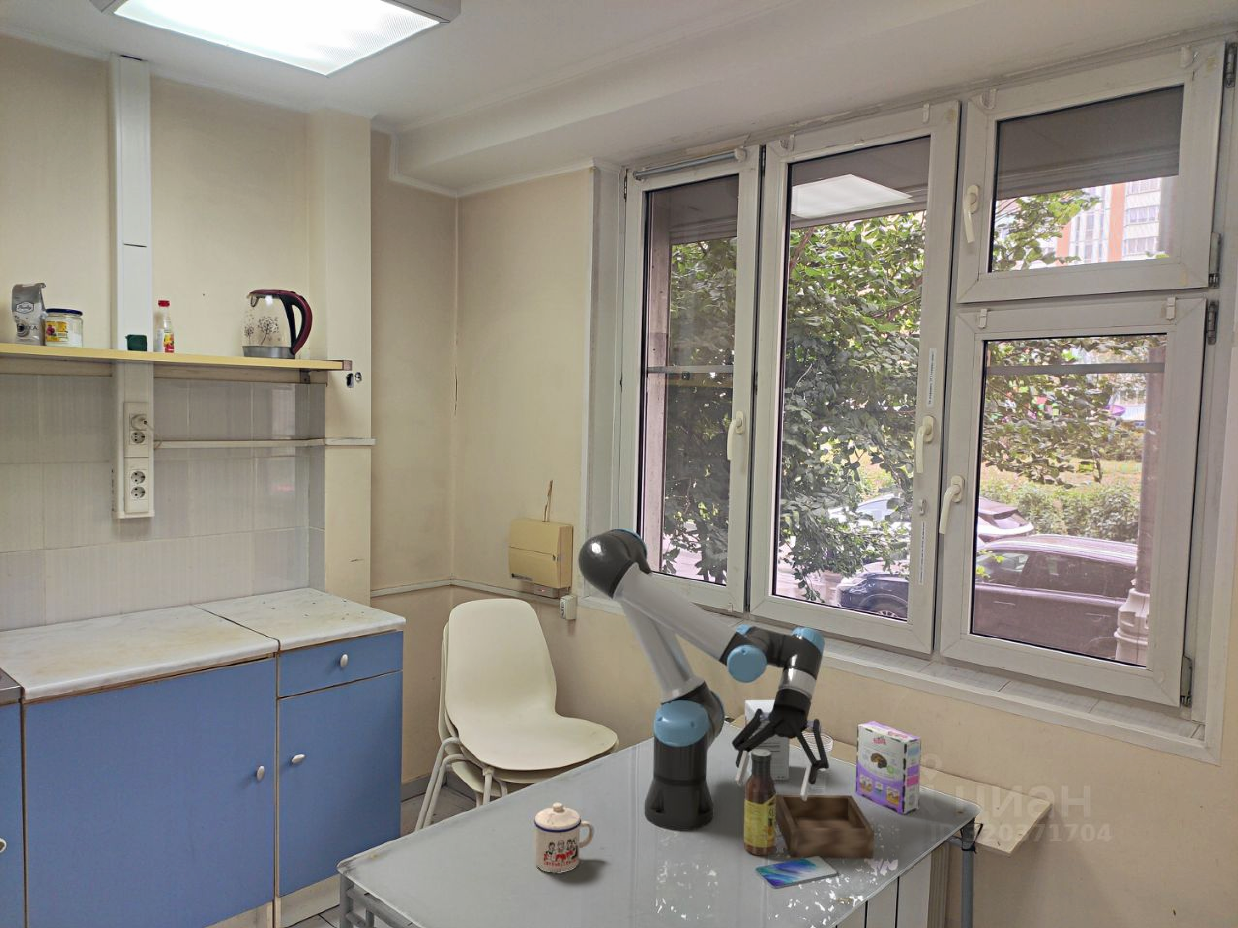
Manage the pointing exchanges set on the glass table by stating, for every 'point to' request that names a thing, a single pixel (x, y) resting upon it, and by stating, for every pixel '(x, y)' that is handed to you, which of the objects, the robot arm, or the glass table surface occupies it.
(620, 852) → the glass table surface
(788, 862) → the smartphone
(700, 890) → the glass table surface
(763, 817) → the sauce bottle
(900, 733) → the candy box
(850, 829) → the walled box
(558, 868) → the teacup with lid
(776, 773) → the supplement box
